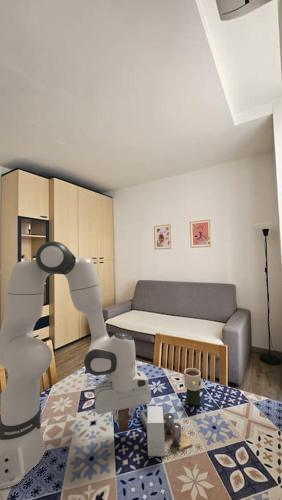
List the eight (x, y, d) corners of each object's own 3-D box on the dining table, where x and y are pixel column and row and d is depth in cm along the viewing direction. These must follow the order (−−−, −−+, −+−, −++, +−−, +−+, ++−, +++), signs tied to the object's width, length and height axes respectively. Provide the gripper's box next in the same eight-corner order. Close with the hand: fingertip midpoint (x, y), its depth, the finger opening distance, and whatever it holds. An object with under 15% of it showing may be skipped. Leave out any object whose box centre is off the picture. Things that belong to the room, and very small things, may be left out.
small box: (165, 457, 68) (164, 423, 68) (147, 456, 68) (146, 423, 68) (163, 435, 76) (162, 405, 76) (148, 435, 76) (147, 405, 76)
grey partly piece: (148, 435, 76) (148, 428, 76) (139, 417, 85) (139, 411, 85) (171, 427, 79) (171, 420, 79) (160, 411, 88) (160, 404, 88)
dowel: (119, 432, 74) (119, 411, 74) (117, 425, 77) (117, 405, 78) (129, 430, 75) (129, 409, 75) (127, 422, 78) (127, 403, 79)
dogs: (176, 451, 69) (176, 433, 70) (163, 428, 79) (162, 412, 79) (192, 445, 71) (191, 427, 72) (177, 424, 81) (176, 408, 81)
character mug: (203, 411, 87) (202, 379, 87) (186, 410, 88) (185, 378, 88) (199, 394, 98) (198, 365, 98) (184, 393, 98) (183, 365, 99)
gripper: (95, 390, 71) (94, 433, 70) (152, 379, 77) (152, 419, 76) (93, 380, 77) (93, 420, 76) (147, 371, 83) (147, 408, 82)
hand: (123, 419), depth 76 cm, fingers closed on dowel, 4 cm apart
